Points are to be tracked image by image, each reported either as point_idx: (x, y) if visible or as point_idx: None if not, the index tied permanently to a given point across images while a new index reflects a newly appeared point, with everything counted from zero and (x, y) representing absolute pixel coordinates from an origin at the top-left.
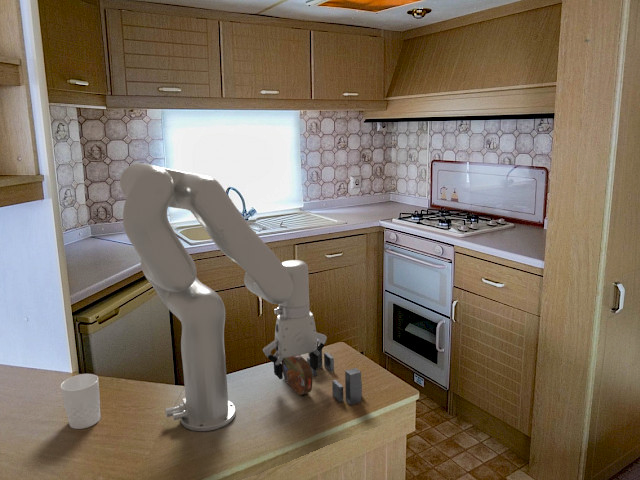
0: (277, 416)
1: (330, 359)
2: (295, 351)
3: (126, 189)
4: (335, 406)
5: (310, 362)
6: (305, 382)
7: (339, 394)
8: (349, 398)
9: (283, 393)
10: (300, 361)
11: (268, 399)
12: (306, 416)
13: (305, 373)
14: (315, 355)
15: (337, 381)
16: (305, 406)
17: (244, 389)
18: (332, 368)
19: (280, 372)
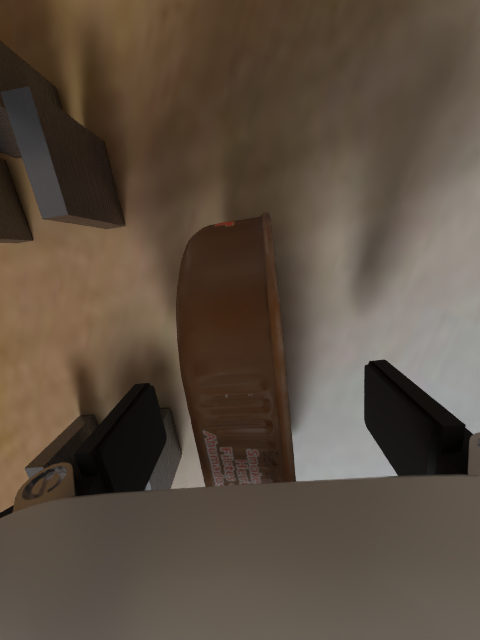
0: (448, 121)
1: (46, 462)
2: (361, 569)
3: None
4: (134, 109)
5: (155, 450)
6: (260, 216)
7: (74, 122)
8: (28, 75)
9: (334, 326)
10: (251, 409)
11: (417, 301)
12: (307, 58)
13: (249, 244)
14: (83, 471)
15: (34, 188)
16: (278, 170)
17: (473, 416)
18: (75, 425)
19: (410, 382)
